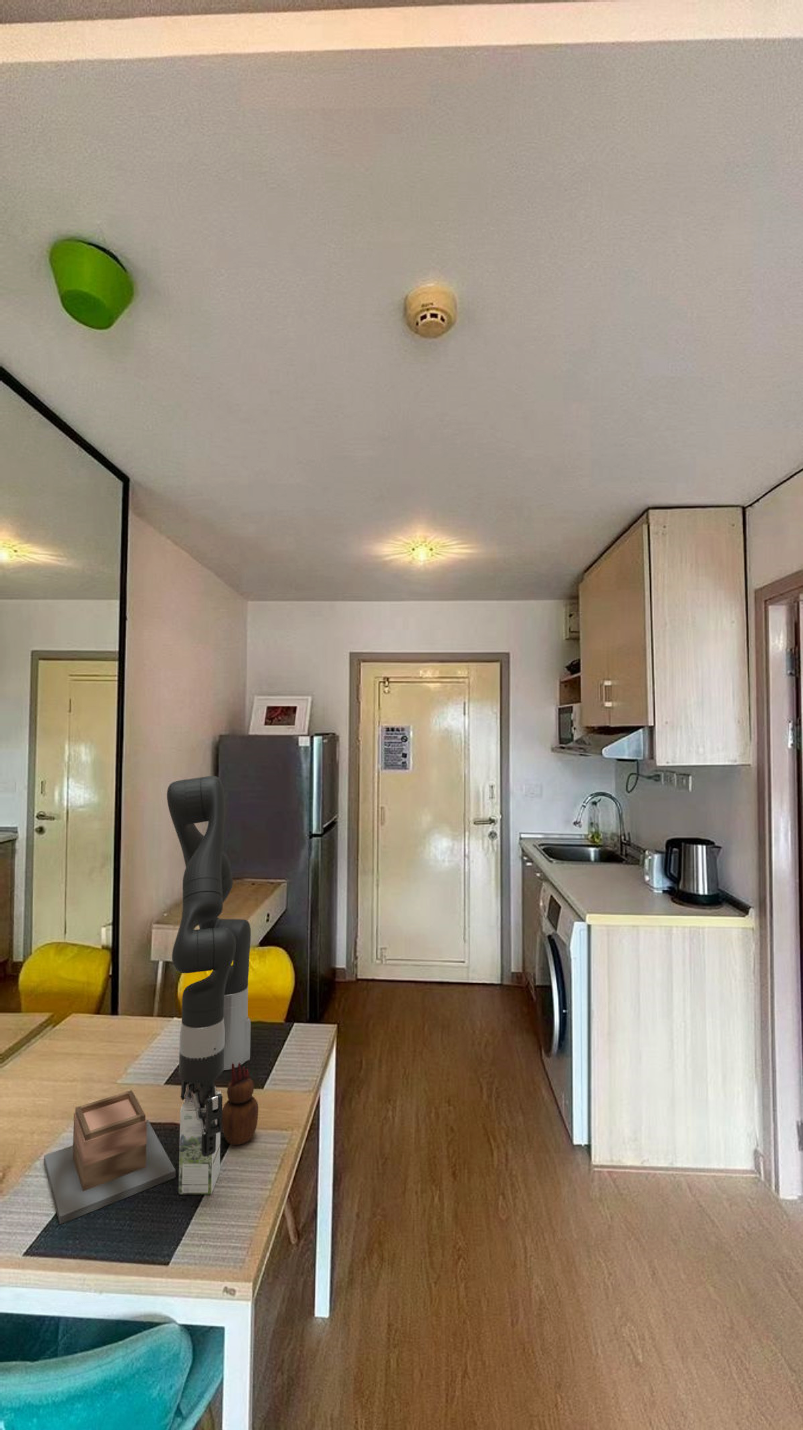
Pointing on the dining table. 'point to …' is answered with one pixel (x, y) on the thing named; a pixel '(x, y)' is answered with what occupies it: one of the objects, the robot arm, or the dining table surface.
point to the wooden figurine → (240, 1108)
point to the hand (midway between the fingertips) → (199, 1141)
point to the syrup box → (195, 1154)
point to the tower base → (105, 1191)
